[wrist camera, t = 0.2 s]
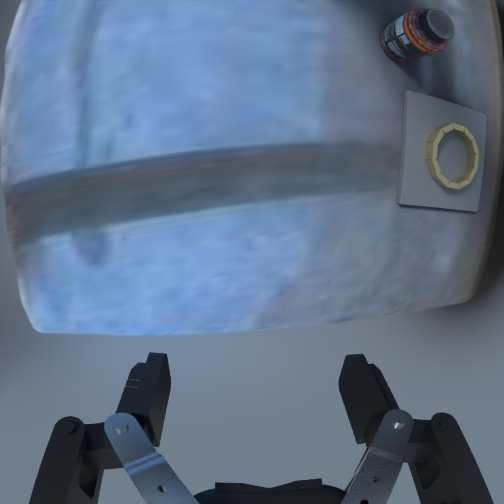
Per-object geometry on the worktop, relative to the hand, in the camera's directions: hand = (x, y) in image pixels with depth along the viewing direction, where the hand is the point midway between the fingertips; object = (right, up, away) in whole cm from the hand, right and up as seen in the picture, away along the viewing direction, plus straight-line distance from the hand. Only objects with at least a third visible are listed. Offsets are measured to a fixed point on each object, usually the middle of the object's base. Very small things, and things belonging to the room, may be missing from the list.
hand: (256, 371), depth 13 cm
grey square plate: (+28, +20, +25) cm, 42 cm away
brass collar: (+28, +20, +25) cm, 42 cm away
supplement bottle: (+20, +34, +19) cm, 44 cm away
